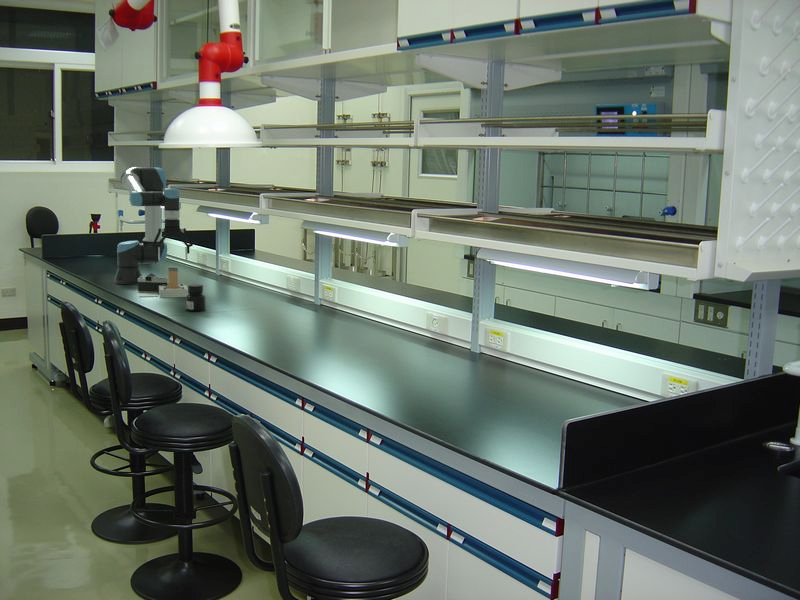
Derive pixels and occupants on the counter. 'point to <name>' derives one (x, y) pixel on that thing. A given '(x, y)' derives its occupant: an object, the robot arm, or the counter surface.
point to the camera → (151, 283)
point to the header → (173, 291)
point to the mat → (148, 295)
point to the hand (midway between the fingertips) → (172, 260)
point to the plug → (173, 278)
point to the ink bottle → (195, 298)
